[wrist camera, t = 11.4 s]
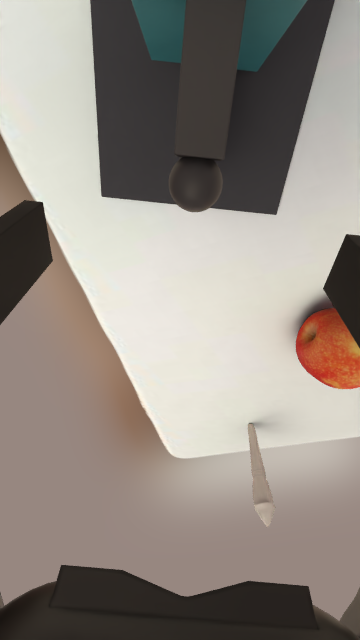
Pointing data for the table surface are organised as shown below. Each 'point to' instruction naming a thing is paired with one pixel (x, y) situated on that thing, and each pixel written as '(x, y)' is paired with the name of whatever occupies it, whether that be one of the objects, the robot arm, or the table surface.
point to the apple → (329, 350)
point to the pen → (260, 481)
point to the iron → (209, 76)
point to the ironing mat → (162, 103)
